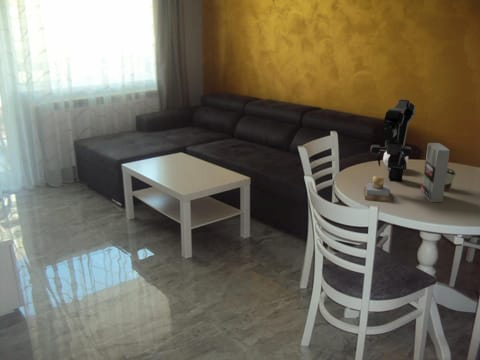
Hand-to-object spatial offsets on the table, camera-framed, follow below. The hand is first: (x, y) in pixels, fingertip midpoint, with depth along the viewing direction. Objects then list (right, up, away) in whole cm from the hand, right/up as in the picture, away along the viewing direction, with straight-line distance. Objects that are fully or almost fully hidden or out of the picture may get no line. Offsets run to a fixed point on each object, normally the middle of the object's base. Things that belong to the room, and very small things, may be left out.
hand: (389, 166), depth 235 cm
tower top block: (-8, -12, -6) cm, 16 cm away
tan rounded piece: (-8, -10, -7) cm, 15 cm away
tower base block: (-8, -15, -6) cm, 18 cm away
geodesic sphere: (+14, -1, +35) cm, 37 cm away
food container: (+28, -11, +7) cm, 31 cm away
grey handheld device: (+18, -15, -7) cm, 24 cm away
